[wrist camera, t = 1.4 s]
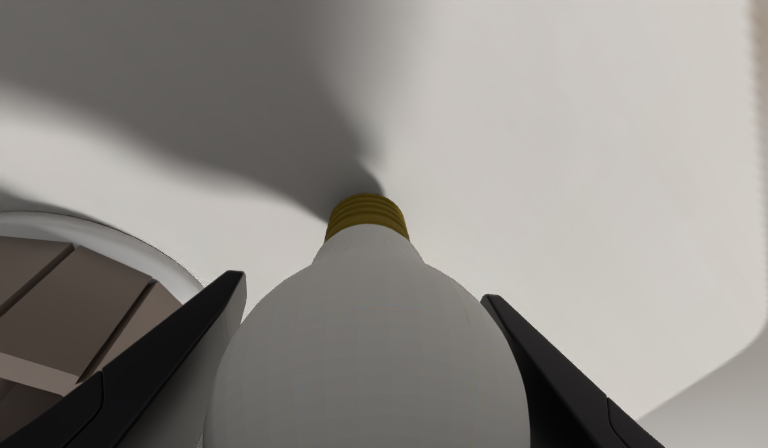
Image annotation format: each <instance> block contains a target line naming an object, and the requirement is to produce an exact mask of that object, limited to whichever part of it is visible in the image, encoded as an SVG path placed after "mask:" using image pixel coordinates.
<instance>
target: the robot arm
mask: <svg viewBox="0 0 768 448" xmlns="http://www.w3.org/2000/svg"><path fill="white" fill-rule="evenodd" d="M246 298H247V290H246V275H245V273H244V272H243V271H234V270H228V271H226V272H225V273H223V274H222V275H221V276H219V277H218V278H217V279H216V280H214V281H213V282H212V283H210V284H209V285H208V286H207V287H205V288H204V289H203V290H201V291H200V292H199V293H198V294H196V295H195V296H194V297H192V298H191V299H190V300H189V301H187V302H186V303H185V304H183V305H182V306H181V307H180V308H178V309H177V310H176V311H174V312H173V313H172V314H170V315H169V316H168V317H167V318H165V319H164V320H163V321H161V322H160V323H159V324H158V325H156V326H155V327H154V328H152V329H151V330H150V331H149V332H147V333H146V334H145V335H143V336H142V337H141V338H140V339H138V340H137V341H136V342H134V343H133V344H132V345H131V346H129V347H128V348H127V349H125V350H124V351H123V352H122V353H120V354H119V355H118V356H116V357H115V358H114V359H113V360H111V361H110V362H109V363H107V364H106V365H105V366H104V367H102V371H100V370H99V371H97V372H96V373H94V374H93V375H92V376H90V377H89V378H88V379H87V380H85V381H84V382H83V383H81V384H80V385H79V386H78V387H76V388H75V389H73V390H72V391H71V392H69V393H68V394H67V395H65V396H64V397H63V398H61V399H60V400H59V401H57V402H56V403H55V404H53V405H52V406H51V407H49V408H48V409H46V410H45V411H44V412H42V413H41V414H39V415H38V416H36V417H35V418H33V419H32V420H31V421H29V422H28V423H26V424H25V425H23V426H22V427H20V428H19V429H18V430H16V431H15V432H13V433H12V434H10V435H9V436H7V437H6V438H4V439H3V440H1V441H0V448H196V446H197V444H198V441H199V439H200V436H201V434H202V431H203V428H204V422H205V416H206V409H207V403H208V397H209V393H210V389H211V385H212V382H213V379H214V376H215V373H216V370H217V368H218V366H219V363H220V361H221V359H222V357H223V355H224V353H225V351H226V348H227V346H228V344H229V343H230V341H231V339H232V337H233V335H234V334H235V332H236V330H237V329H238V327H239V326H240V323H241V319H242V315H243V312H244V308H245V304H246ZM480 303H481V304H482V306H483V307H484V308H485V309H486V311H487V312H488V313H489V315H490V316H491V317H492V319H493V320H494V321H495V323H496V324H497V326H498V327H499V328H500V330H501V331H502V333H503V335H504V337H505V338H506V340H507V342H508V345H509V347H510V349H511V351H512V354H513V356H514V358H515V361H516V363H517V366H518V368H519V371H520V374H521V377H522V381H523V384H524V388H525V393H526V398H527V404H528V414H529V424H530V448H665V447H664V446H663V445H662V444H660V443H659V442H658V441H657V440H656V439H655V438H653V437H652V436H651V435H650V434H649V433H648V432H646V431H645V430H644V429H643V428H642V427H641V426H640V425H639V424H637V423H636V422H635V421H634V420H633V419H632V418H631V417H630V416H629V415H628V414H626V413H625V412H624V411H623V410H622V409H621V408H620V407H619V406H618V405H617V404H616V403H615V402H613V401H612V400H611V399H610V398H609V397H607V396H606V394H605V393H604V392H603V391H602V390H600V389H599V388H598V387H597V386H596V385H595V384H594V383H593V382H592V381H591V380H590V379H589V378H588V377H587V376H585V375H584V374H583V373H582V372H581V371H580V370H579V369H578V368H577V367H576V366H575V365H574V364H573V363H572V362H570V361H569V360H568V359H567V358H566V357H565V356H564V355H563V354H562V353H561V352H560V351H559V350H558V349H557V348H555V347H554V346H553V345H552V344H551V343H550V342H549V341H548V340H547V339H546V338H545V337H544V336H543V335H542V334H540V333H539V332H538V331H537V330H536V329H535V328H534V327H533V326H532V325H531V324H530V323H529V322H528V321H527V320H525V319H524V318H523V317H522V316H521V315H520V314H519V313H518V312H517V311H516V310H515V309H514V308H513V307H512V306H511V305H509V304H508V303H507V302H506V301H505V300H504V299H503V298H502V297H501V296H499V295H493V294H485V295H484V296H483V297H482V299H481V301H480Z"/></svg>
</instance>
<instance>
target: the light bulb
mask: <svg viewBox="0 0 768 448" xmlns="http://www.w3.org/2000/svg"><path fill="white" fill-rule="evenodd" d="M203 448H530V424H529V414H528V404H527V398H526V393H525V388H524V384H523V381H522V377H521V374H520V371H519V368H518V366H517V363H516V361H515V358H514V356H513V354H512V351H511V349H510V347H509V345H508V342H507V340H506V338H505V337H504V335H503V333H502V331H501V330H500V328H499V327H498V326H497V324H496V323H495V321H494V320H493V319H492V317H491V316H490V315H489V313H488V312H487V311H486V309H485V308H484V307H483V306H482V304H481V303H480V302H479V301H478V300H477V299H476V298H475V297H474V296H473V295H472V294H470V293H469V292H468V291H467V290H466V289H465V288H464V287H462V286H461V285H460V284H459V283H457V282H456V281H455V280H454V279H452V278H450V277H449V276H447V275H446V274H444V273H442V272H441V271H439V270H437V269H435V268H433V267H431V266H429V265H427V264H425V263H424V261H423V260H422V258H421V256H420V255H419V253H418V251H417V250H416V249H415V247H414V246H413V245H412V244H411V242H410V240H409V235H408V232H407V228H406V224H405V221H404V217H403V214H402V212H401V210H400V209H399V208H398V206H397V205H396V204H395V203H393V202H392V201H391V200H389V199H388V198H385V197H383V196H380V195H377V194H371V193H363V194H357V195H353V196H350V197H348V198H346V199H344V200H343V201H341V202H340V203H339V204H338V205H337V206H336V207H335V208H334V210H333V211H332V213H331V216H330V218H329V223H328V228H327V231H326V236H325V240H324V244H323V246H322V247H321V248H320V250H319V251H318V253H317V255H316V256H315V258H314V260H313V262H312V264H311V265H310V266H308V267H306V268H304V269H303V270H301V271H299V272H297V273H296V274H294V275H292V276H291V277H289V278H287V279H286V280H284V281H283V282H282V283H280V284H279V285H278V286H277V287H276V288H274V289H273V290H272V291H271V292H270V293H268V294H267V295H266V296H265V297H264V298H263V299H262V300H261V301H260V302H259V303H258V304H257V305H256V306H255V307H254V308H253V310H252V311H251V312H250V313H249V315H248V316H247V317H246V318H245V320H244V321H243V322H242V323H241V325H240V326H239V327H238V329H237V330H236V332H235V334H234V335H233V337H232V339H231V341H230V343H229V344H228V346H227V348H226V351H225V353H224V355H223V357H222V359H221V361H220V363H219V366H218V368H217V370H216V373H215V376H214V379H213V382H212V385H211V389H210V393H209V397H208V403H207V409H206V416H205V422H204V431H203Z"/></svg>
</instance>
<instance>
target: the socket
mask: <svg viewBox="0 0 768 448" xmlns="http://www.w3.org/2000/svg"><path fill="white" fill-rule="evenodd" d="M203 289H204V288H203V287H202V286H201V284H200V283H199V282H198V281H197V280H196V279H195V278H194V277H193V276H192V275H191V274H190V273H188V272H187V271H186V270H185V269H184V268H182V267H181V266H180V265H179V264H177V263H176V262H175V261H173V260H172V259H171V258H169V257H167V256H166V255H164V254H163V253H161V252H160V251H158V250H157V249H155V248H153V247H151V246H149V245H147V244H146V243H144V242H142V241H140V240H138V239H136V238H134V237H131V236H129V235H127V234H124V233H122V232H120V231H117V230H115V229H112V228H109V227H106V226H103V225H100V224H97V223H94V222H91V221H87V220H83V219H79V218H75V217H70V216H65V215H59V214H52V213H46V212H30V211H11V212H0V441H1V440H3V439H4V438H6V437H7V436H9V435H10V434H12V433H13V432H15V431H16V430H18V429H19V428H20V427H22V426H23V425H25V424H26V423H28V422H29V421H31V420H32V419H33V418H35V417H36V416H38V415H39V414H41V413H42V412H44V411H45V410H46V409H48V408H49V407H51V406H52V405H53V404H55V403H56V402H57V401H59V400H60V399H61V398H63V397H64V396H65V395H67V394H68V393H69V392H71V391H72V390H73V389H75V388H76V387H78V386H79V385H80V384H81V383H83V382H84V381H85V380H87V379H88V378H89V377H90V376H92V375H93V374H94V373H96V372H97V371H99V370H100V371H102V367H104V366H105V365H106V364H107V363H109V362H110V361H111V360H113V359H114V358H115V357H116V356H118V355H119V354H120V353H122V352H123V351H124V350H125V349H127V348H128V347H129V346H131V345H132V344H133V343H134V342H136V341H137V340H138V339H140V338H141V337H142V336H143V335H145V334H146V333H147V332H149V331H150V330H151V329H152V328H154V327H155V326H156V325H158V324H159V323H160V322H161V321H163V320H164V319H165V318H167V317H168V316H169V315H170V314H172V313H173V312H174V311H176V310H177V309H178V308H180V307H181V306H182V305H183V304H185V303H186V302H187V301H189V300H190V299H191V298H192V297H194V296H195V295H196V294H198V293H199V292H200V291H201V290H203Z"/></svg>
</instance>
